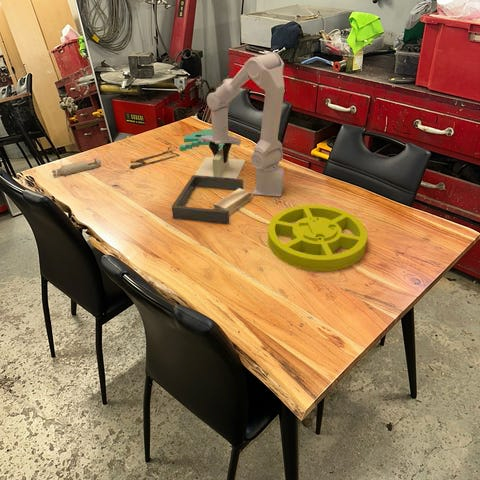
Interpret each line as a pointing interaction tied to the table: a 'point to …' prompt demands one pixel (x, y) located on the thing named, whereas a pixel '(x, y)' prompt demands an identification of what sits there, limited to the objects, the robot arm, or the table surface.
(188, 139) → the alien figure
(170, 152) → the hacksaw
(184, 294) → the table surface
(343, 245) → the pulley
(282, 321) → the table surface
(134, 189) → the table surface
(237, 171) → the rubber mat
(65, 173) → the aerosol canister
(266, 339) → the table surface
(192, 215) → the offcut rack
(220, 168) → the sage board
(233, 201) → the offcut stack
